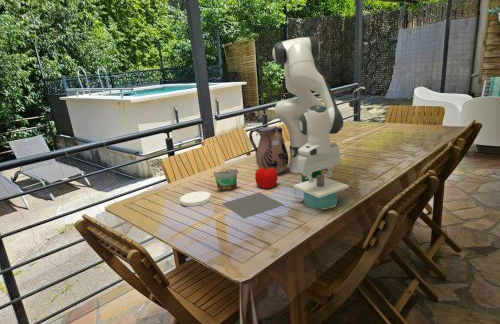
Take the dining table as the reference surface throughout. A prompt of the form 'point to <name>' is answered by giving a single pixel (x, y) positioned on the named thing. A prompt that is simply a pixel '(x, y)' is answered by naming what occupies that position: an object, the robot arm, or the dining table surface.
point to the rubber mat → (252, 205)
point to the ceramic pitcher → (270, 148)
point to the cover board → (321, 186)
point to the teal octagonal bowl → (320, 200)
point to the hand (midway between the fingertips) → (320, 179)
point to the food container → (226, 180)
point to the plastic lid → (195, 198)
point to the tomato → (266, 177)
